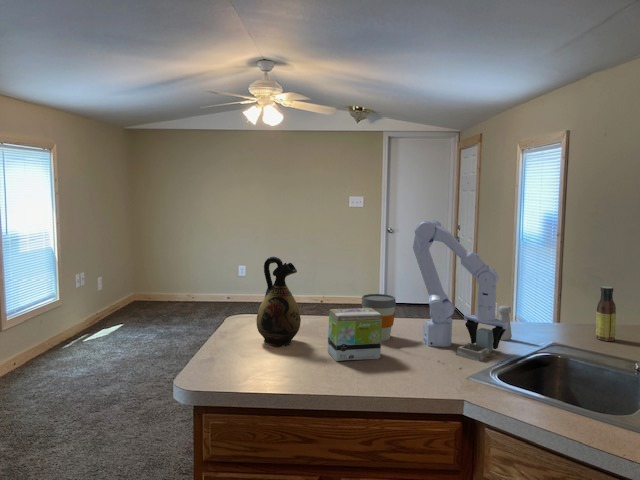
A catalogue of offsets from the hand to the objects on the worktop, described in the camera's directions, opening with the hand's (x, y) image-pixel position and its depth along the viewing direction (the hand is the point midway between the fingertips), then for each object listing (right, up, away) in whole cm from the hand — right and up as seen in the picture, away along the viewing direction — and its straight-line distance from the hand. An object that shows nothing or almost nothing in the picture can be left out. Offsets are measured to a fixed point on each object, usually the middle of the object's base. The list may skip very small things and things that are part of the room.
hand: (484, 345), depth 161 cm
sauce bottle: (+51, -2, +19) cm, 55 cm away
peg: (0, -2, 0) cm, 2 cm away
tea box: (-44, -3, -4) cm, 44 cm away
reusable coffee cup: (-34, -1, +17) cm, 37 cm away
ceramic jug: (-70, -1, +8) cm, 71 cm away
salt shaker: (+12, -2, +15) cm, 19 cm away
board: (-3, -3, -3) cm, 5 cm away
